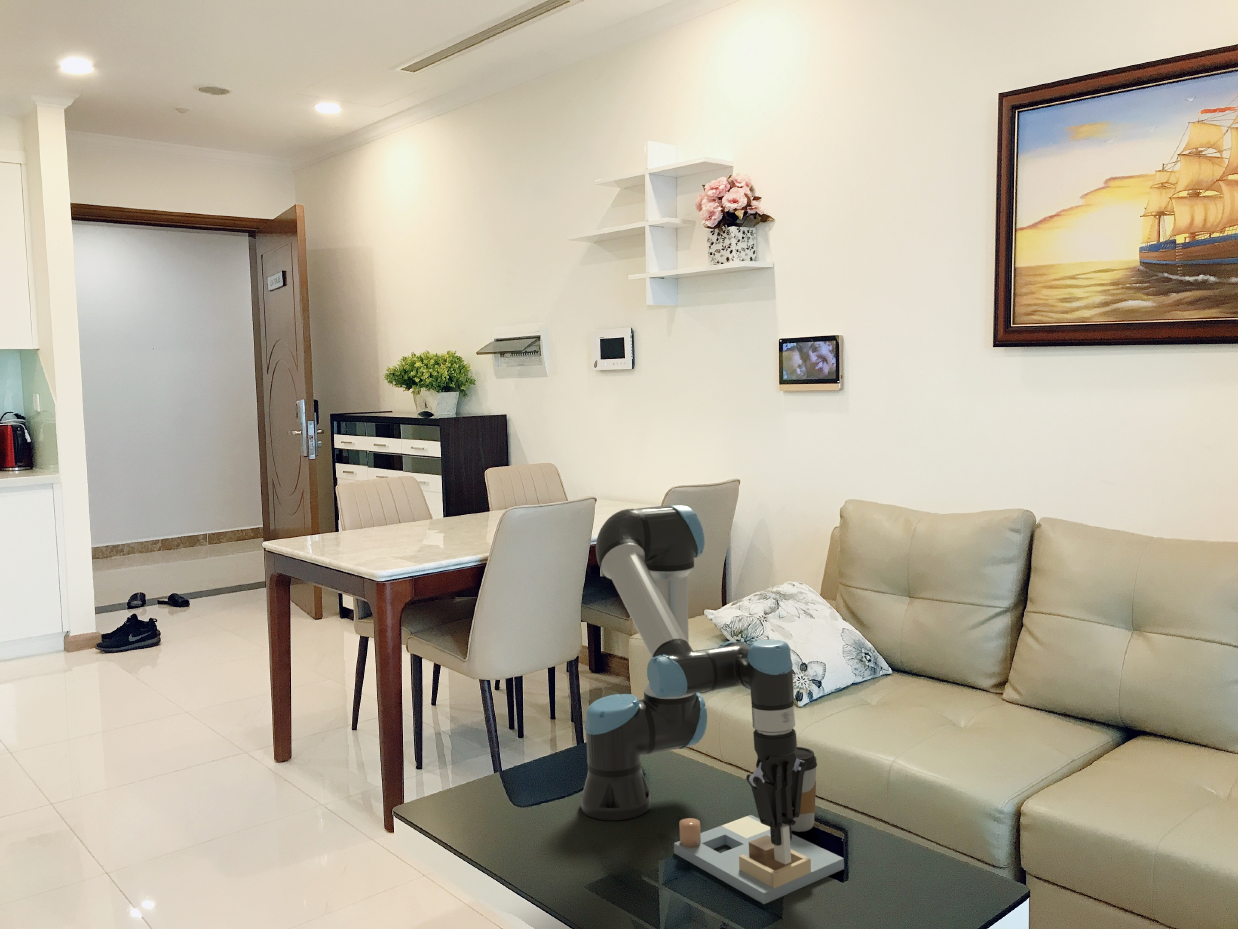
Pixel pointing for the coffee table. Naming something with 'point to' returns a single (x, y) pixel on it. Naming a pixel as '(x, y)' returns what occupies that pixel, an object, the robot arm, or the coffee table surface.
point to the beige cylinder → (690, 832)
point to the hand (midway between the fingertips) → (782, 860)
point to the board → (752, 875)
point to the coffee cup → (806, 791)
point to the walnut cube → (764, 852)
